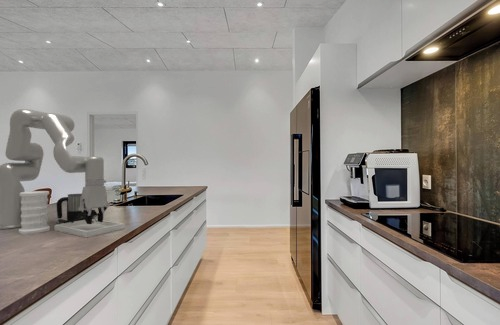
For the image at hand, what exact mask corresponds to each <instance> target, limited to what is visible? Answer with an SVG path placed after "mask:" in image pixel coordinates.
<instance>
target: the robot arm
mask: <svg viewBox="0 0 500 325" xmlns="http://www.w3.org/2000/svg"><path fill="white" fill-rule="evenodd" d="M30 128H33V129H39V130H45V131H46V133H47V134H48V136H49V137H50V139H51V141H52V142H53V143H54V146H53V150H52V151H53V152H52V153H53V157H54V160H55V162H56V163H57V164H58V166H59V168H60V169H61V170H62V171H63V172H65V173H69V174H75V173H76V174H77V173H79V174H80V173H84V180H85V182H84V183H85V184H84V185H85V186H83V187H82V191H81V194H82V196H81V205H80V207H79V208H78V210H79V211H81V212H83V213H84V214H85V215H86V223H87V224H92V215H91V210H93V209H97V210H98V211H97V214H98V216H97V219H98V222H103V220H104V214H105V211H107V209H108V208H109V207H110V205H111V204H110V203H109V201H108V198H107V197H108V195H107V188H106V185H105V184H106V183H107V180H105V176H104V175H105V172H104V170H105V169H104V165H105V164H104V163H105V162H104V161H105V160H104V158H103V157H101V156H77V155H76V156H73V155H71V153H70V151H68V149H67V147H68V146H70V145H71V144H72V143H73V142H74V141H75V137H74V135H73V133H72V131H74V129H75V122H74V120H73V119H72V118H71V117H70V116H68V115H64V114H58V113H51V112H50V113H48V112H43V111H40V110H39V111H38V110H35V109H34V110H33V109H28V108H21V109H16V110H15V111H13V112H12V114H11V116H10V119H9V134H8V137H7V138H8V139H7V143H6V147H5V157H6V158H7V159H8V160H10V161H19V162H6V163H2V164H1V165H0V230H5V229H6V230H7V229H15V228H16V229H17V228H22V225H21V221H22V218H21V214H22V211H21V207H22V204H21V200H22V196H20V193H21V192H26V191H25V187H24V186H23V184H22V183H21V182H30V181H34V180H36V179H37V178H38V177H39V176H40V175H39V174H40V171H41V168H42V163H43V159H44V153H45V152H44V149H43V147H42V145H41V144H39V143H37V142H36V143H35V142H31V141H32V140H31V139H32V131H31V129H30ZM22 161H23V162H22ZM83 208H86V210H84V209H83Z"/></svg>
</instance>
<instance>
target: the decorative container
mask: <svg viewBox="0 0 500 325" xmlns="http://www.w3.org/2000/svg"><path fill="white" fill-rule="evenodd" d="M48 195H50V191H48V190H34V191H33V190H32V191H25V192H21V193H20V196H22V200H21V204H22V207H21V211H22V214H21V218H22V221H21V225H22V227H20V229H18V234H20V235H30V234H31V235H32V234H33V235H34V234H39V233H44V232H45V233H46V232H48V231H50V230H51V225H48V223H49V219H48V216H49V211H48V209H49V205H48V202H49V198H48Z"/></svg>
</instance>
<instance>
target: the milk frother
mask: <svg viewBox="0 0 500 325" xmlns="http://www.w3.org/2000/svg"><path fill="white" fill-rule="evenodd" d="M81 196H82V193H70V194H67V196H64V197H61V198H59V199H58V200H57V202H56V215H57V219H58V220H57V221H58V222H60V224H64V223H69V222H72V221H73V220H75V218H76V217H77V216H78V215H79V214H80V213H81V211H79V210H78V208H79V207H80V205H81ZM63 202H66V219H62V217H63V206H62V204H63ZM83 209H84V210H86V208H83ZM81 220H84V218H83V217H82V218H80V219H79V220H76V221H81ZM74 222H75V221H74Z"/></svg>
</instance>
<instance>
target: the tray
mask: <svg viewBox="0 0 500 325" xmlns="http://www.w3.org/2000/svg"><path fill="white" fill-rule="evenodd" d="M95 219H96V220H97V223H96V222H95V221H94V219H92V220H93V222H94V224H87V223H86V221H85V220H81V221H75V222H73V223H71V222H69V223H59V224H54V231H55V230H56V232H59V231H60V233H63V232H64V234H68V235H72V236H77V237H81V238H84V239H85V238H91V237H95V236H99V235H105V234H108V233H113V232H117V231H122V230H125V228H126V227H125V223H121V222H116V221H109V220H104V219H103V222H98V218H95Z"/></svg>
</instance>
